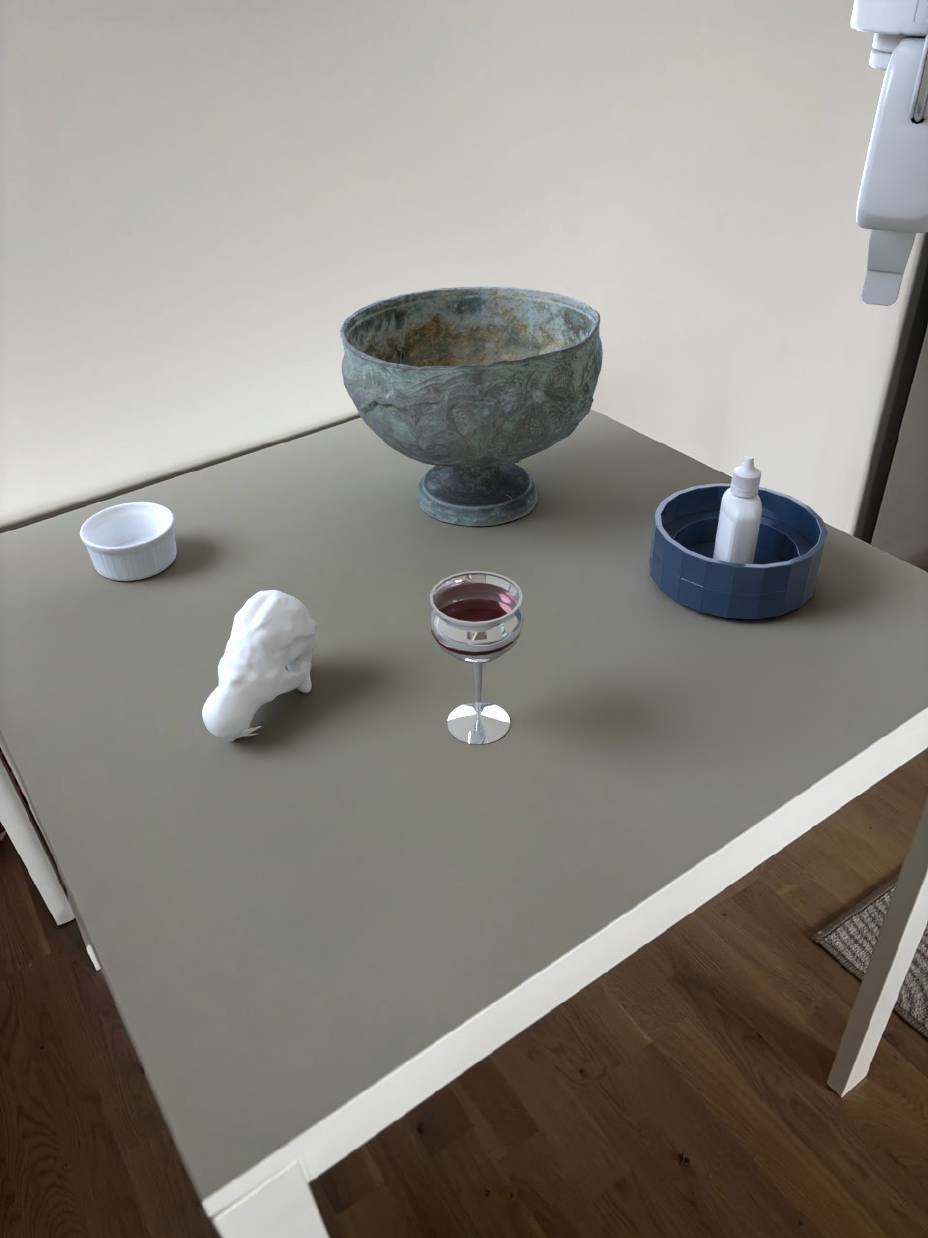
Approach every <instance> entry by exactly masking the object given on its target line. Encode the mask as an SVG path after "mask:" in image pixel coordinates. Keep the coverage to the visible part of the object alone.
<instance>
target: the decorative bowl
mask: <svg viewBox="0 0 928 1238" xmlns="http://www.w3.org/2000/svg"><path fill="white" fill-rule="evenodd" d="M600 324H601V314H600V313H599V311H598V310H596V309H593V308H592V306H590V304H587V303H586V302H584V301H582V300H579V299H576V298H575V297H572V296H568V295H565V294H563V293H557V292H556V293H555V292H551V291H548V290H540V289H536V288H527V287H517V286H516V287H515V286H489V285H488V286H455V287H454V286H453V287H440V288H432V289H426V290H419V291H414V292H408V293H403V294H399V295H395V296H391V297H388V298H385V299H384V298H383V299H380V300H376V301H374V302H372V303H370V304H368V305H366V306H362V307H360V308H359V309H357V310H356V311H355V312H353V313H352V314H351V315H349V316H348V317H346V319H345V320H344V321H343V322H342V323H341V326H340V329H339V334H340V338H341V341H342V346H343V351H344V355H343V357H342V361H341V375H342V380H343V385H344V388H345V390H346V392H347V394H348V396H349V397H350V400H351V401H352V403H353V404H354V406H355V407H356V410H357V413H358V414H359V417H360V418H361V419H362V421H363V422H364V423H365V424H366V425H367V426H368V428H369V429H370V430H372V431H373V433H375V435H377V437H378V438H379V439H380V440H382V441H383V443H384V444H386V445H388V447H390V448H391V449H392V450H394V451H395V452H398V453H400V454H401V455H402V456H403V455H404V456H405V457H407V458H409V459H411V460H414V461H416V462H420V463H422V464H425V465H428V466H429V465H431V466H433V467H431V468H430V469H428V471H427V472H426V473H425V474H424V475H422V477H421V478H420V480H419V482H418V484H417V488H416V498H417V501H418V502H417V503H418V505H419V507H420V509H422V511H423V512H425V513H426V514H427V515H428V516H430V517H431V518H433V519H436V520H437V521H440V522H443V523H448V524H453V525H456V526H465V527H486V526H487V527H489V526H490V527H491V526H497V525H501V524H505V523H508V522H512V521H514V520H517V519H520V518H522V517H524V516H526V515H528V514H529V513H530V512H531V511H532V510H533V509H534V508H535V506H536V505H537V503H538V499H539V498H538V485H537V483H536V481H535V479H534V478H533V477H532V475H530V474H529V473H528V472H527V471H526V470H525V469H524V468H523V467H521V466H520V465H518V463H520V462H521V461H523V460H524V459H528V458H530V457H533V456H535V455H537V454H539V453H541V452H543V451H545V450H547V449H549V448H551V447H553V446H554V445H556V444H558V443H559V442H561V441H562V440H564V439H566V438H569V437H570V436H571V435H572V434H573V433H574V432H575V430H576V429H577V427H578V426H579V424H580V423H581V422H582V420H583V419H585V417H586V416H587V415H588V414H589V413H590V411H591V409H592V405H593V403H594V401H595V400H594V394H595V391H596V389H597V386H598V382H599V378H600V377H599V376H600V374H601V371H602V366H603V357H604V356H603V355H604V353H603V351H604V350H603V342H602V339H601V337H600Z"/></svg>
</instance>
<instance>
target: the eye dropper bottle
mask: <svg viewBox="0 0 928 1238" xmlns="http://www.w3.org/2000/svg"><path fill="white" fill-rule="evenodd" d="M761 478H762V471H761V470H760V469H759V468H757V467H755V456H753V455H745V456H744V460H743V462H742V464H741V465H739V466H736V467H734V468H733V470H732V475H731V482H730V484H731V487H730V488H729V489H727V490H726V491H725V493H724V495H723V497H722V502H721V508H720V515H719V521H718V528H717V534H716V541H715V548H714V554H713V559H716V560H721V561H726V562H731V563H736V564H753V560H754V554H755V549H756V543H757V538H758V532H759V526H760V521H761V514H762V504H761V500H760V498H759V496H758V490H759V487H760V483H761Z"/></svg>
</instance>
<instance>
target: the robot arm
mask: <svg viewBox="0 0 928 1238" xmlns="http://www.w3.org/2000/svg"><path fill="white" fill-rule="evenodd" d="M849 25H850V28H851V29H853V30H855V31H858V32H864V33H870V34H874V35H873V40H872V45H871V47H872V49H871V50H870V53H869V54H870V55H869V59H868V66H870V67H871V68H873V69H875V70H880V71H885V73H884V77H883V82H882V85H881V89H880V94H879V98H878V103H877V107H876V112H875V117H874V122H873V126H872V130H871V135H870V140H869V144H868V149H867V154H866V159H865V164H864V168H863V173H862V177H861V182H860V187H859V192H858V196H857V197H858V198H857V204H856V213H855V221H856V224H857V226H858V227H859V228H861V229H865V230H870V235H869V241H868V252H867V261H866V272H865V276H864V280H863V285H862V291H861V295H860V296H861V300H862V301H863V302H864V303H865V304H866V305H873V306H883V307H890V306H892V305H894V304H896V302H897V300H898V298H899V294H900V290H901V286H902V283H903V278H904V273H905V272H906V271H905V270H906V268H907V265H908V261H909V258H910V256H911V253H912V250H913V246H914V244H915V242H916V241H915V240H916V236H917V234H926V233H928V0H854V1H853V7H852V12H851V18H850V24H849Z"/></svg>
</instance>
